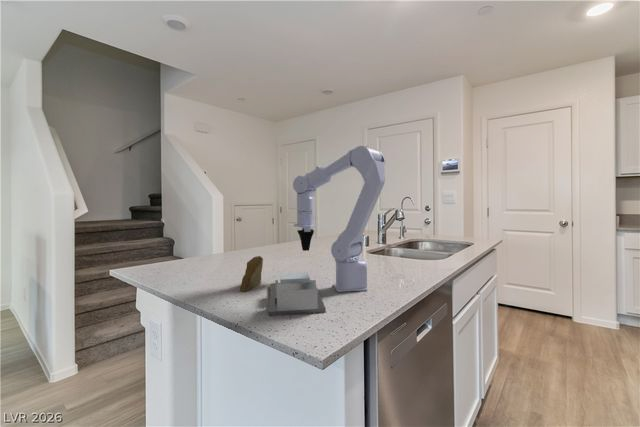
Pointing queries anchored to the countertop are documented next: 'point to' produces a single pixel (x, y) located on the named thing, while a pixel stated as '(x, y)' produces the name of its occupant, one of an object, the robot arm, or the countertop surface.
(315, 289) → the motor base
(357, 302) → the countertop surface
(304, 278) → the pale blue-grey box
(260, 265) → the rock
